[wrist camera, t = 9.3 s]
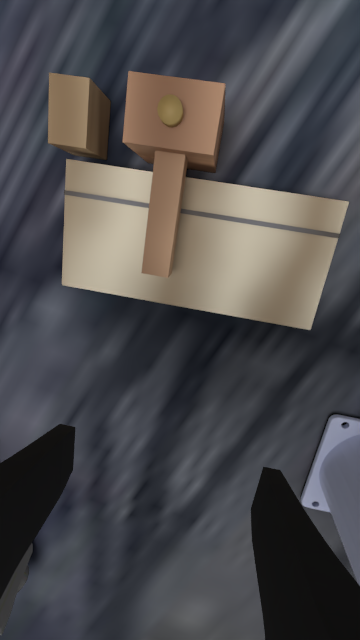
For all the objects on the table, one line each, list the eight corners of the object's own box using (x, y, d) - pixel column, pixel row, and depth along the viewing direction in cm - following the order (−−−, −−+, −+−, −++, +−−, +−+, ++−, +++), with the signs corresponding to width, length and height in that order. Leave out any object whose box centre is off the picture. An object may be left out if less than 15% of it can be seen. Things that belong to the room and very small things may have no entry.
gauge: (224, 121, 17) (225, 77, 12) (198, 270, 20) (190, 287, 15) (153, 112, 18) (124, 64, 12) (137, 259, 20) (107, 272, 15)
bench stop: (110, 101, 18) (89, 77, 15) (106, 159, 19) (85, 148, 16) (76, 97, 18) (49, 72, 15) (74, 155, 19) (48, 142, 16)
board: (335, 204, 18) (349, 201, 16) (301, 320, 20) (310, 330, 18) (81, 165, 19) (65, 158, 17) (76, 279, 21) (61, 285, 19)
